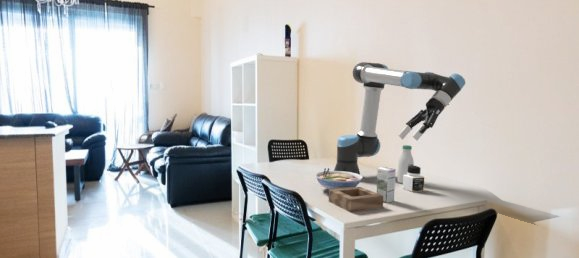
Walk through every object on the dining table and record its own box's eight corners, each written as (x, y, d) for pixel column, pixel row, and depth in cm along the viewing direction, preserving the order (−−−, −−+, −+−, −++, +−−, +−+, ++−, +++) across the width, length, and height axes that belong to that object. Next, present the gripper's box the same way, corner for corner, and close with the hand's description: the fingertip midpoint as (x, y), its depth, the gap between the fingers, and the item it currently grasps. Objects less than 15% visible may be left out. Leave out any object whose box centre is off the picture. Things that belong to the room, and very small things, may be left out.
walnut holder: (328, 201, 154) (329, 189, 153) (359, 197, 161) (359, 186, 160) (350, 212, 140) (350, 199, 139) (382, 207, 146) (383, 195, 146)
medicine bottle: (412, 192, 173) (413, 167, 172) (402, 188, 179) (403, 165, 178) (423, 191, 175) (425, 166, 174) (413, 187, 182) (415, 164, 181)
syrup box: (394, 201, 157) (396, 168, 155) (386, 203, 153) (388, 169, 152) (383, 198, 161) (385, 166, 160) (375, 200, 157) (377, 167, 156)
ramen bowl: (362, 199, 158) (363, 181, 157) (310, 195, 163) (311, 177, 162) (362, 186, 182) (363, 170, 182) (317, 183, 187) (318, 167, 186)
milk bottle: (402, 184, 188) (404, 146, 186) (394, 181, 195) (396, 144, 193) (415, 184, 189) (417, 146, 188) (407, 180, 197) (409, 144, 195)
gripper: (460, 107, 149) (427, 144, 147) (429, 110, 173) (400, 142, 171) (448, 94, 148) (415, 132, 146) (418, 99, 172) (389, 131, 171)
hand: (407, 137), depth 159 cm, fingers open, 13 cm apart
